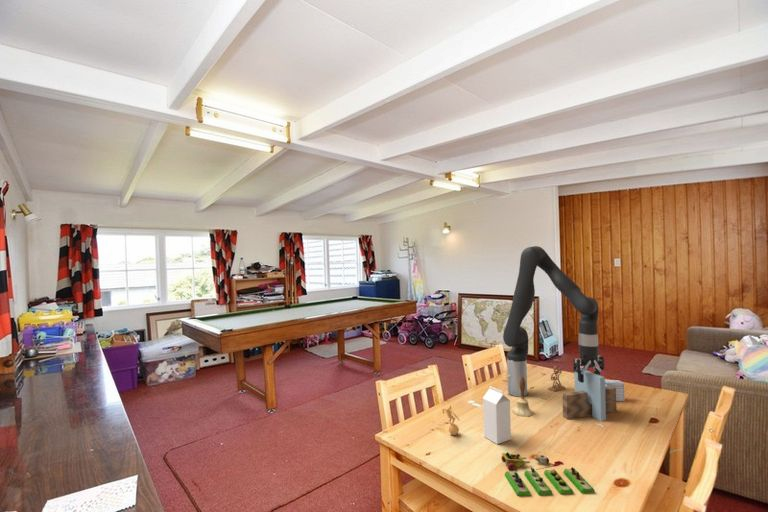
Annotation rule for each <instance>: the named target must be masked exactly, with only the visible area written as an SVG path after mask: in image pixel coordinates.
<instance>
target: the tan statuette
mask: <svg viewBox="0 0 768 512" xmlns="http://www.w3.org/2000/svg"><path fill="white" fill-rule="evenodd" d="M561 374H562V368H561V367H559V366H558V365H554V367H553V373H551V375H550V376H551V377H550V380H551V381H553V383H552V385H551V386H550V387H547V390H548V391H550V392H553V393H556V392H559V391H563V390H565V389H566V386H564V385H562V383H561V382H560V377H559V376H560V375H561Z"/></svg>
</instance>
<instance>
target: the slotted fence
mask: <svg viewBox="0 0 768 512" xmlns="http://www.w3.org/2000/svg"><path fill="white" fill-rule="evenodd" d="M605 401H606V414H607V413H611V412H612V413H613V412H617V401H616V388H614V387H611V386H610V387H605ZM588 416H589V417H590V416H592V404H590V403H588V402H587V392H585V391H577V392H575V391H572V392H570V391H569V392H565V393H562V417H563V418H564V419H566V420H571V419H577V418H578V419H579V418H583V417H588Z"/></svg>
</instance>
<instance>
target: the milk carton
mask: <svg viewBox="0 0 768 512" xmlns="http://www.w3.org/2000/svg"><path fill="white" fill-rule="evenodd" d="M482 407H483V408H482V412H483V413H482V414H483V416H482V417H483V418H482V419H483V437H484V438H485V439H488V440H490V441H491V442H493V444H496V445H498V444H502V443H505V442H507V441H510V440H511V439H512V431H511V428H512V427H511V426H512V425H511V399H509V398H508V397H507V396H506V395H505V394H504V391H503V390H501V389H498V388H496V387H493V386H491V385H489V387H488V390H487V391H486V393H485V394H484V396H483V397H482Z"/></svg>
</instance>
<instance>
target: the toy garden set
mask: <svg viewBox="0 0 768 512" xmlns="http://www.w3.org/2000/svg"><path fill="white" fill-rule="evenodd" d="M500 458H501V461H502V462H504V464H505V465H506V466H507V467H506V468H507V471H505V473H504V477H505V479H506V480H507V482H508V483H509V485H510V486H511V488H512V490H513V492H514V493H515V494H516V496H517V497H525V496H526V497H527V496H531V493H532V492H531V491H530V490H529V488H528V487H527V485H526V484H525V483H524V480H522V478H521V476H520V474H519V473H518V472H517V471H516V469H517V468H518V469H519V468H520V467H521V466H522V465H523V464H530V462H531V461H529V460H527V458H528V457H526V456H522V455H521V454H520V453H509V451H507V452H502V453H501V457H500ZM533 459H534V460H535V461H537V462H538V464H539V465H541V466H543V467H539V468H536V469H535V468H533V467H530V470H525V471H524V477H525V478H526V480H527V481H528V482H529V484H530V485H531V487H532V488H533V489H534V491H535V493H537V496H548V495H549V496H551V495H553V490H552V489H551V488H550V487H549V485H548V484H547V483H546V482H545V481H544V478H543V477H542V476H540V474H539V473H538V470H543V469H545V470H544V472H543V475H544V476H545V477H546V479H548V481H549V482H550V484H551V485H552V486H553V488H555V490H556V491H557V493H558V494H559V495H573V494H574V490H573V489H572V487H571V486H570V485H569V484H568V483H567V482H566V481H565V479H564V478H563V477H562V476H561V475H560V474H559V472H558V471H556V469H554V468H553V469H548V468H552V467H559V466H561V465H563V466H564V465H565V464H564V462H563V461H561V460H558V461H554V463H553V464H551V465H548V464H549V463H550V459H549V457H547V456H546V455H545V454H538V456H537V455H534V456H533ZM547 465H548V466H547ZM563 475H564V476H565V477H566V478H567V479H568V480H569V481H570V482H571V484H572V485H573V486H574V488H576V489H577V491H578V492H579V493H580V494H591V493H595V489H594V487H593V486H592V485H591V484H590V483H589V482H588V481H587V480H586V479H585V478H584V477H583V476H582V475H581V474H580V472H579V471H577V470H576V468H575V467H573V466H572V467H571V468H565V469H563Z"/></svg>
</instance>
